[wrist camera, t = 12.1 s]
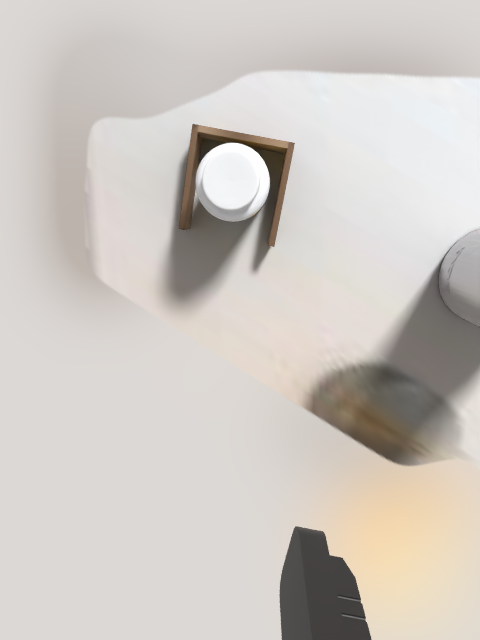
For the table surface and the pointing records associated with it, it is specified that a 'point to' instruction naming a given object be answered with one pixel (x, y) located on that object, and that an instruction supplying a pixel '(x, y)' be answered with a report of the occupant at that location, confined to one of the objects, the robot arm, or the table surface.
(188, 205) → the walnut u rest
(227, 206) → the supplement bottle
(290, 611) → the robot arm
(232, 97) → the table surface
